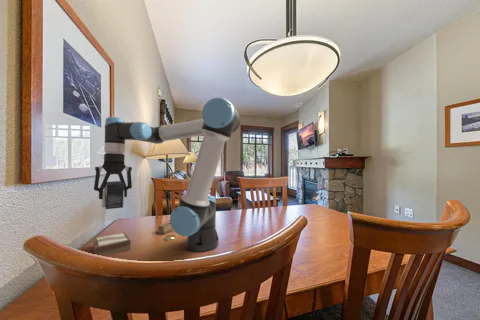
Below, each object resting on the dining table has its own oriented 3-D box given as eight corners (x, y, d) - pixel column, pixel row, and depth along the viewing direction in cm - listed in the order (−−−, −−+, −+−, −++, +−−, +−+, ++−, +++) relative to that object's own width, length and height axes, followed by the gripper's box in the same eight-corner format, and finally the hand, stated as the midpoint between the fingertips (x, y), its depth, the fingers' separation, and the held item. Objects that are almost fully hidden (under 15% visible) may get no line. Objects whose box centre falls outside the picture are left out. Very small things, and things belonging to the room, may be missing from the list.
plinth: (130, 249, 83) (130, 239, 83) (95, 258, 75) (96, 247, 75) (124, 240, 92) (124, 231, 92) (93, 247, 84) (93, 238, 84)
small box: (102, 204, 85) (103, 181, 86) (119, 203, 90) (120, 181, 90) (105, 209, 77) (106, 183, 78) (123, 207, 81) (124, 183, 82)
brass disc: (177, 236, 98) (177, 235, 98) (172, 241, 93) (172, 239, 93) (167, 236, 98) (167, 234, 98) (163, 240, 93) (163, 238, 93)
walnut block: (171, 232, 104) (172, 224, 104) (164, 235, 100) (164, 227, 100) (165, 230, 107) (165, 223, 107) (158, 233, 103) (158, 225, 103)
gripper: (136, 154, 93) (135, 201, 93) (85, 152, 80) (84, 207, 80) (141, 154, 87) (139, 204, 87) (86, 151, 74) (85, 210, 74)
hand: (113, 205), depth 83 cm, fingers closed on small box, 6 cm apart
